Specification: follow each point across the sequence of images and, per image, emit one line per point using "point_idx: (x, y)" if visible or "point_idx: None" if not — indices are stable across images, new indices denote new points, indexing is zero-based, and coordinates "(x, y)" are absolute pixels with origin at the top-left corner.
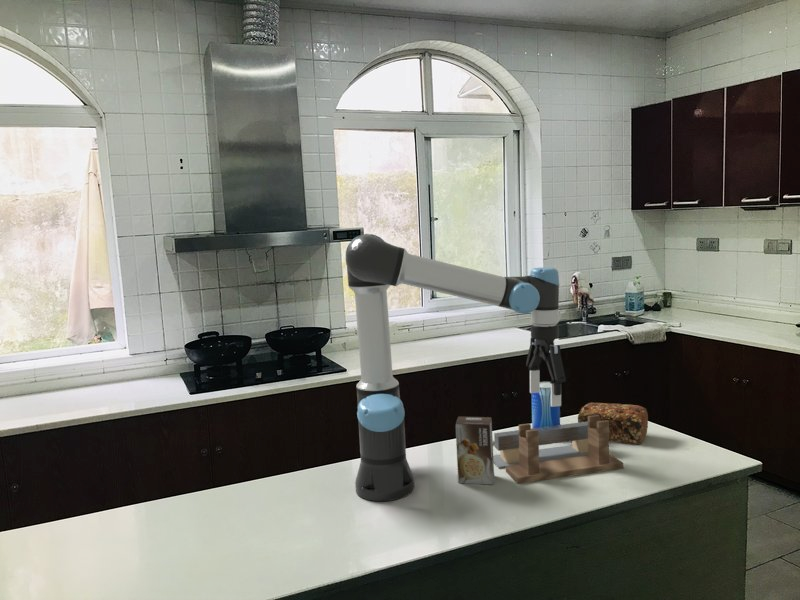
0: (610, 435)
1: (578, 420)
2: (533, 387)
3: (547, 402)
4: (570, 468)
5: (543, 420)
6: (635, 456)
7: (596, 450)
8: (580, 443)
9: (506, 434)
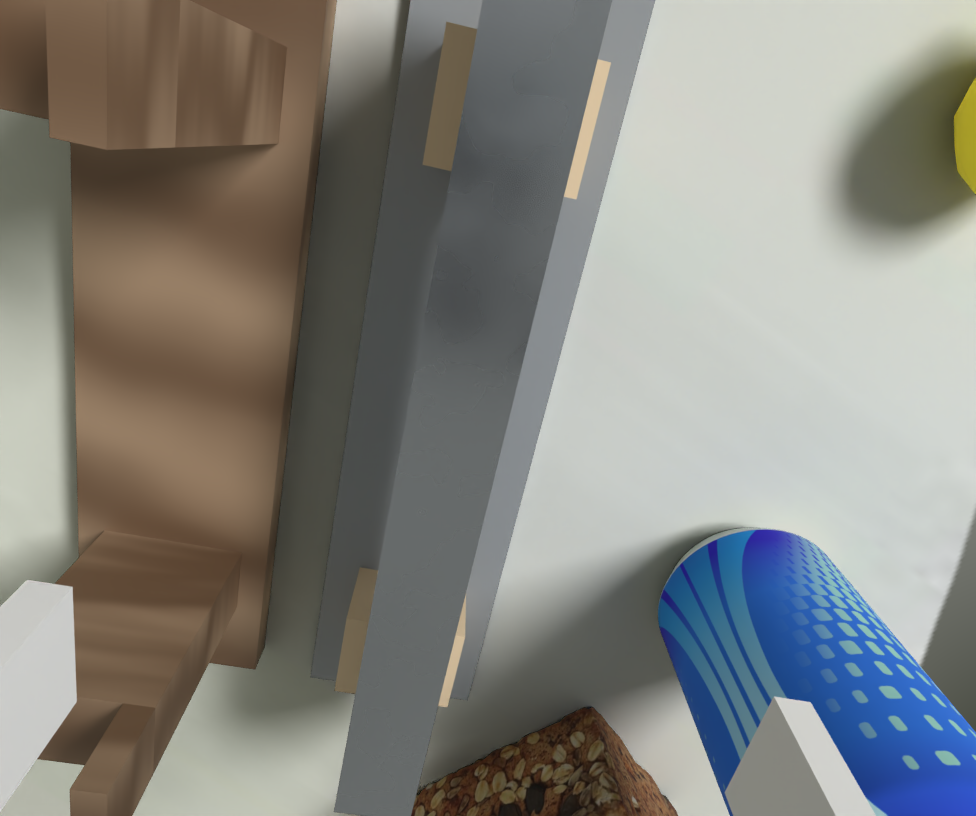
0: (444, 806)
1: (609, 790)
2: (794, 806)
3: None
4: (104, 351)
5: (731, 621)
6: (217, 748)
7: (91, 584)
8: (349, 607)
9: (513, 51)
